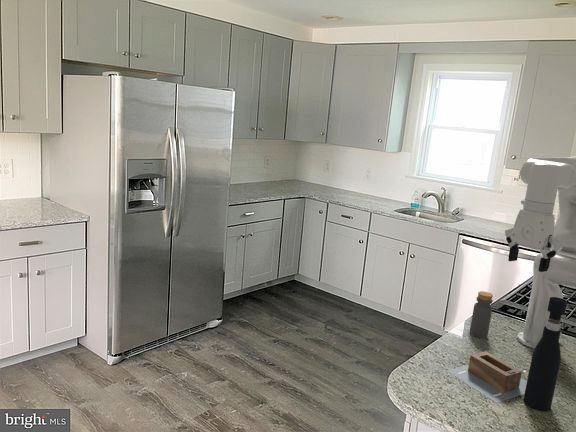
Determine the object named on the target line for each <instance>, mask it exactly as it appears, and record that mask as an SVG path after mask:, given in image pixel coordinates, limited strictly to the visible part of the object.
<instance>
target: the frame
mask: <svg viewBox="0 0 576 432" xmlns="http://www.w3.org/2000/svg"><path fill="white" fill-rule="evenodd" d="M468 365H469V367H468V372H470V373H472V374H473V375H475V376H477V377H478V378H480V379H481V380H483V381H485V382H486V383H488V384H490V385H491V386H493V387H494V388H496V389H498V390H499V391H501V392H502V393H505V392H508V391H511V390H514V389H517V388H519V385H520V380H521V378H522V375H523V374H522V373H523V370H520V369H518V368H517V367H515V366H514V365H511V364H509V363H508V362H506V361H504V360H502V359H501V358H499V357H496V356H495V355H494V354H491V353H490V352H488V351H486V350H485V351H481V352H478V353H473V354H470V357H469V362H468Z"/></svg>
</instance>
